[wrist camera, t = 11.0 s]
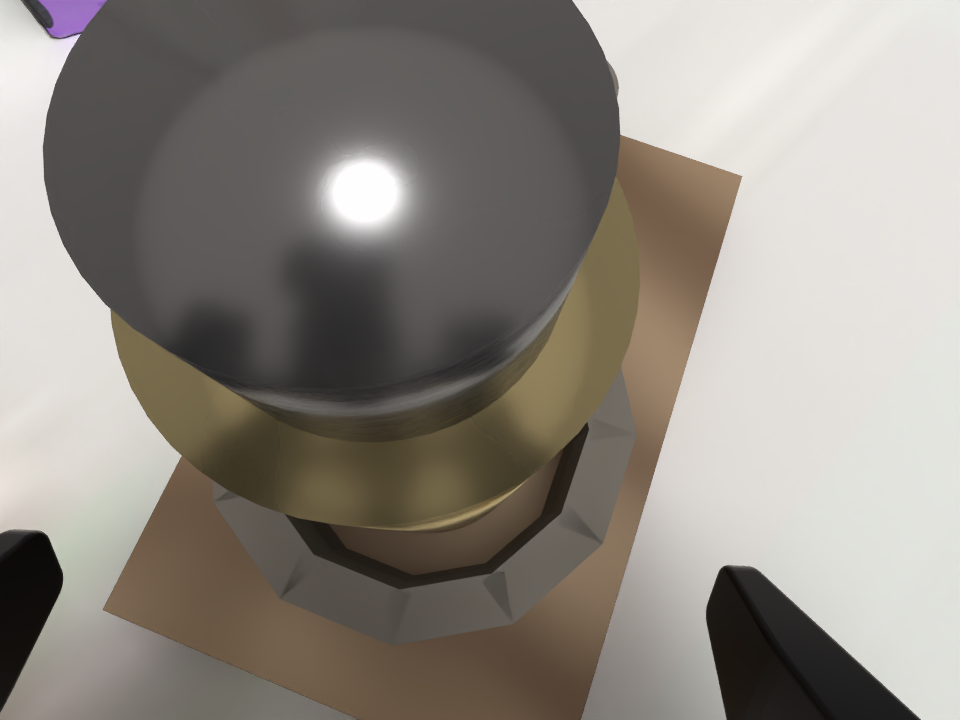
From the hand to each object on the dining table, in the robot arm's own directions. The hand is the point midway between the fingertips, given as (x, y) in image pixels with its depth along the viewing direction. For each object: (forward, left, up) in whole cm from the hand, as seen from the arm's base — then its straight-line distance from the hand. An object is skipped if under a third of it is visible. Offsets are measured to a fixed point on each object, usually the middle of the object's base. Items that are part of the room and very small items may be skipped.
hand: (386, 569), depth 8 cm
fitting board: (+5, +1, -9) cm, 11 cm away
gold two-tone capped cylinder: (+3, +1, -8) cm, 8 cm away
